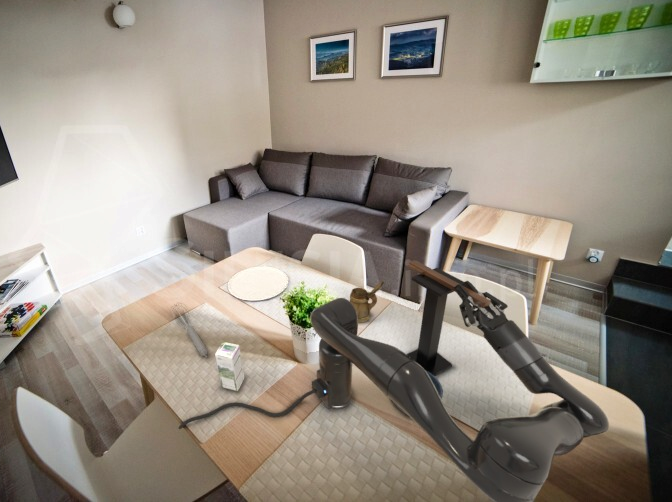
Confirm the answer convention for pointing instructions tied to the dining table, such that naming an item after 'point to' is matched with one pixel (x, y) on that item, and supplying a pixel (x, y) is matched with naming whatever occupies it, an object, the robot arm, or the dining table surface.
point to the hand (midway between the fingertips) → (460, 284)
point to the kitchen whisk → (193, 335)
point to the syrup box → (230, 366)
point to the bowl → (437, 386)
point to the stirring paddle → (446, 281)
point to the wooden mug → (364, 301)
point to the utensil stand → (432, 324)
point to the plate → (258, 283)
